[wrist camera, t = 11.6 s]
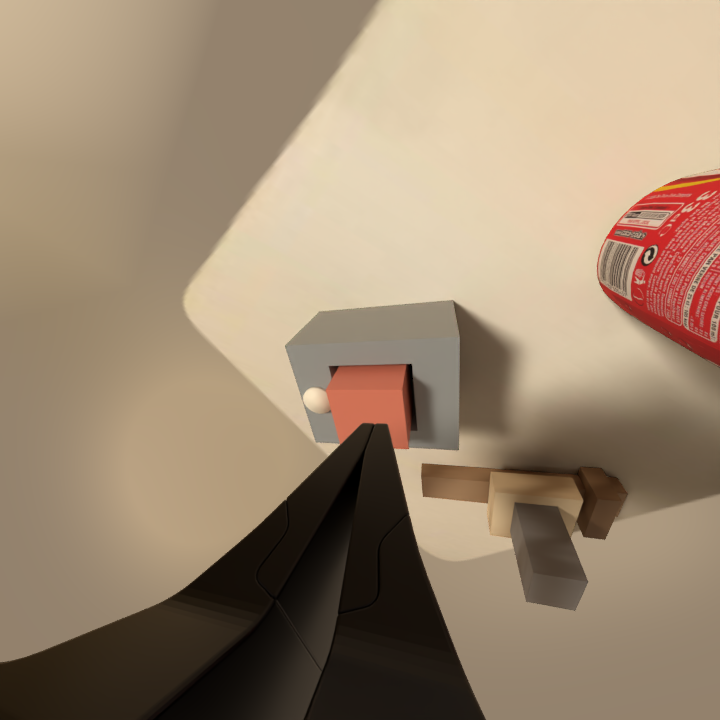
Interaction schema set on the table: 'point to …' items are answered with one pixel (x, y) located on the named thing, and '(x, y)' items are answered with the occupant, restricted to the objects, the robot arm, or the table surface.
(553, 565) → the block stack
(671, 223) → the soda can
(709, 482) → the table surface
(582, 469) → the rail
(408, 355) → the grey slotted box
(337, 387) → the plunger
